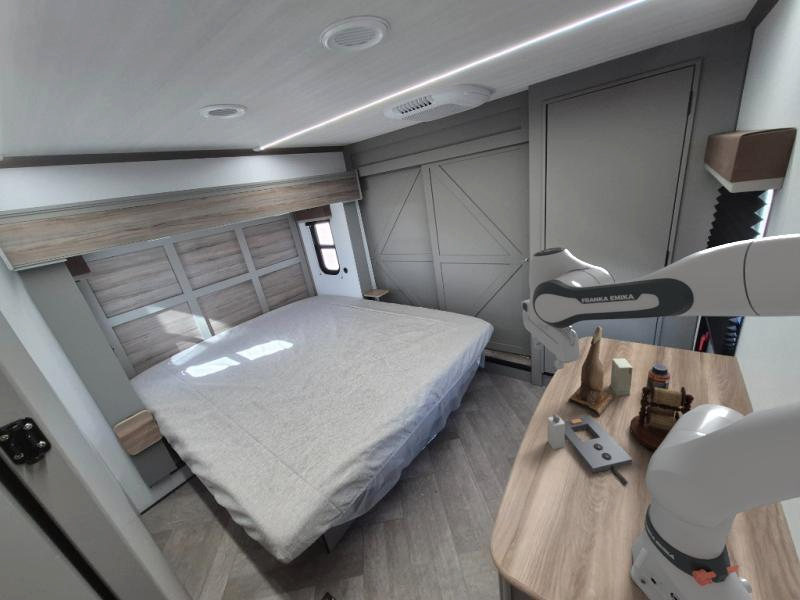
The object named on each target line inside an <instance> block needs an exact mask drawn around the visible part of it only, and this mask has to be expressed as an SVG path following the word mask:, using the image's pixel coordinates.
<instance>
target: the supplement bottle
mask: <svg viewBox="0 0 800 600" xmlns="http://www.w3.org/2000/svg"><path fill="white" fill-rule="evenodd" d="M668 369H669V368H668V366H667V365H665V364H662V363H654V364H653V365H652V368H650V369H649V370H648V375H647V379H646V381H647V382H646V386H645V387H648V388H650V390H651V384H652V382H654V384H655V387H656V388H662V389H667V390H669V385H670V379H671V374H670V372H669V370H668ZM649 395H650V393H649Z"/></svg>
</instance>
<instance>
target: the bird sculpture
mask: <svg viewBox="0 0 800 600" xmlns="http://www.w3.org/2000/svg"><path fill="white" fill-rule="evenodd" d="M602 335H603V328H602V326H601V325H598V326H597V327H596V329H595V331H594V333H593V336H592V338H591V342H590V347H589V348H588V349H589V350H588V351H587V352H588V353H587V354H586V358H585V359H584V362H583V363H582V367H581V372H580V386H579V388H577V390H576V391H575V392H574V393H573V394H572V395H571V396H570V397H569V398H568V399H567V401H568V402H570V401H574V402H575V401H576V402H577V403H580V404H582V405H583V406H584V405H585V406H588V407H589V408H590V409H592V410H594V411H596V412H597V413H598V415H599V417H601V415H602V414H604V412H605V411H606V409H607V408H608V406H610V404H611V403H612V401H613V396H612V395H611V394H610V393H607V392H605V391H603V389H604V380H605V379H604V378H605V377H604V376H605V367H604V363H603V362H602V360H601V359H600V349H601V340H602Z"/></svg>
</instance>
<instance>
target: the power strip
mask: <svg viewBox="0 0 800 600" xmlns="http://www.w3.org/2000/svg"><path fill="white" fill-rule="evenodd" d="M563 421H564V423H565V440H566V441H567V443H568V445H570V446H571V448H572V449H573V450H574V451H575V453H576V454H577V455H578V456H579V459H581V460H582V462H583V463H584V464H585V466H586V467H587V468H588V469H589V471H590V472H591V473H592V474H595V473H599V472H605V471H609V470H612V471H613V472H614V474H615V475H616V476H617V478H619V480H620V481H621V482H622V483H623V484H624V485H627V484H628V483H629V482H628V481H627V480H626V479H625V477H624V476H623V475H622V474H621V472H619V470H617V468H621V467H625V466H629V465H632V464H633V457H631V456H630V455H629V454H628V453H627V452H626V451H625V450H624V448H623V447H622V446H620V444H619V443H618V442H617V441H616V440H615V439H614V438H613V437H612V436H611V435H610V434H609V433H608V432H607V431H606V430H605V429H604V428H603V427H602V426H601V425H600V424H599V422H597V421H596V420H595V418H594V417H592V415H591V414H590V415H586V416H582V417H581V416H580V417H577V418H572V419H568V420H563ZM585 429H587V430H588V431H589V432H590V433H591V434H592V435H593V436H594V437H595V438H592V439H588V440H583V441H582V439H581V438H580V437H579V436H578V435H577V434H576V432H575V431H580V430H585Z"/></svg>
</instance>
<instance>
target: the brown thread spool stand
mask: <svg viewBox="0 0 800 600" xmlns="http://www.w3.org/2000/svg"><path fill="white" fill-rule="evenodd" d="M641 391H642V392H641V393H642V395H641V398H640V406H641V407H639V411H638V415H636V416H634V417H632V419H631V421H630V423H629V431H630V432H631V434H632V436H633V437H634V438H635V439H636V440H637V441H638V444H639V445H644V446H645V447H647V448H649V449H651V450H653V451H656V450H657V448H658V447H659V446H660V444H661V443H662V442H663V440H664V439H665V437H666V436H667V434H668V433H669V432H670V430H671V429H672V428H673V426H674V425H675V424H676V422H677V421H678V419H679V418H680V417H681V416H680V413H681V414H682V415H684V414H685V413H687V412H688V411H690V410H692V409H691V408H692V405H691V404H693V401H694V399H695V398H694V396H693V395H692V394H690V393H687V391H686V388H685V386H681V388H680V391H677V390H671V389H668V390H667V389H662V388H656V387H655V384H654V382H652V384H651V390H650V388H648V387H646V386H643V387H642V389H641ZM649 393H650V394H649ZM649 395H650V401H649ZM679 412H680V413H679Z"/></svg>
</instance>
